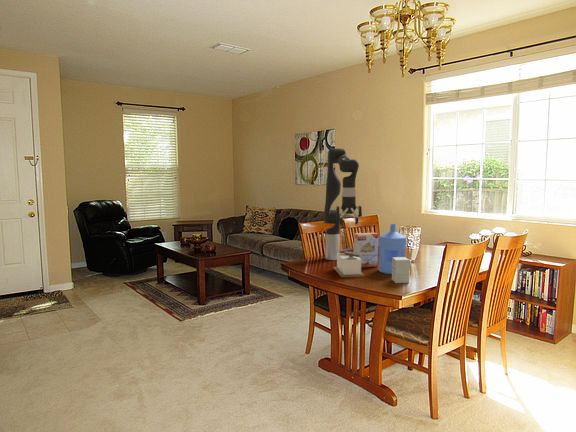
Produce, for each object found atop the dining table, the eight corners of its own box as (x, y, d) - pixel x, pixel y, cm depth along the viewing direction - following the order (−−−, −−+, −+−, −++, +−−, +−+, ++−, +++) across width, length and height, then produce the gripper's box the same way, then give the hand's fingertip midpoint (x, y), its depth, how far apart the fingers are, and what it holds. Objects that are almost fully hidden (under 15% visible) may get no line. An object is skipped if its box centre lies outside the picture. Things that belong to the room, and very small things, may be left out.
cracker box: (357, 268, 256) (357, 234, 254) (353, 266, 262) (353, 233, 259) (378, 266, 260) (378, 233, 257) (373, 264, 265) (374, 232, 263)
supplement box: (404, 279, 230) (405, 256, 228) (409, 283, 222) (409, 259, 221) (391, 279, 229) (392, 256, 228) (395, 283, 222) (395, 259, 221)
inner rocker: (339, 254, 252) (338, 250, 251) (352, 251, 252) (351, 247, 252) (341, 255, 248) (340, 251, 247) (354, 252, 248) (353, 248, 248)
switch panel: (334, 268, 255) (334, 250, 254) (355, 268, 257) (355, 250, 255) (341, 277, 235) (341, 257, 233) (364, 276, 236) (364, 257, 235)
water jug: (373, 269, 252) (374, 223, 249) (395, 267, 258) (396, 222, 255) (388, 275, 238) (389, 226, 235) (411, 273, 243) (412, 225, 240)
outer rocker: (343, 255, 241) (344, 251, 240) (356, 257, 241) (357, 253, 241) (344, 256, 237) (345, 252, 236) (358, 259, 237) (359, 255, 237)
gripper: (359, 195, 238) (359, 223, 240) (334, 195, 237) (334, 223, 239) (363, 195, 230) (362, 225, 232) (337, 196, 229) (337, 225, 231)
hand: (348, 224), depth 235 cm, fingers open, 8 cm apart
